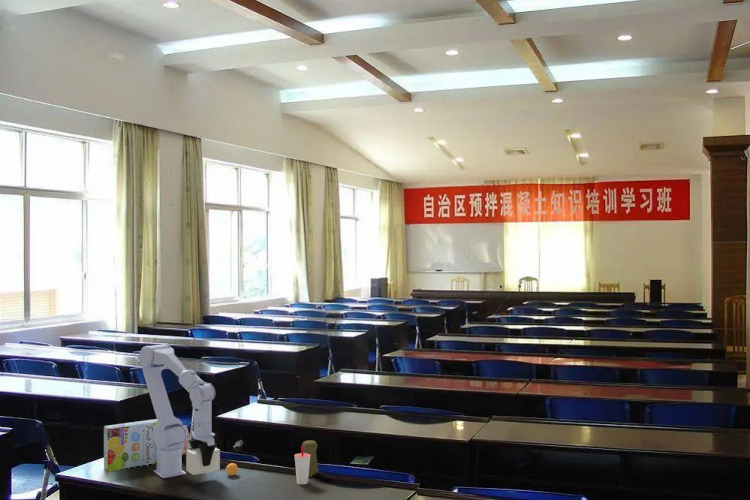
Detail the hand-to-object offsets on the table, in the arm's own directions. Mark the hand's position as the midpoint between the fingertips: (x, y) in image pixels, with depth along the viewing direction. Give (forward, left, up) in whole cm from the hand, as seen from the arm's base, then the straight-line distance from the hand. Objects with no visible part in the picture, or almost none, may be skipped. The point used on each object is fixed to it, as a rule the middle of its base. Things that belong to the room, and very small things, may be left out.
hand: (202, 463), depth 224 cm
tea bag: (-36, +6, -6) cm, 37 cm away
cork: (+14, +32, -6) cm, 36 cm away
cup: (+21, +25, -6) cm, 34 cm away
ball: (0, +10, -4) cm, 11 cm away
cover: (0, 0, -2) cm, 2 cm away
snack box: (-31, -12, -6) cm, 34 cm away
